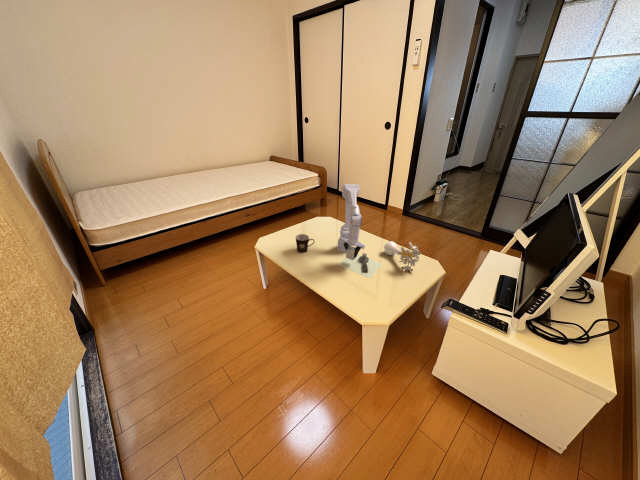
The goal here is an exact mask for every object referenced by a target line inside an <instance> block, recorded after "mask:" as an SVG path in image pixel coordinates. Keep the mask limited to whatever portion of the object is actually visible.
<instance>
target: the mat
mask: <svg viewBox="0 0 640 480" xmlns="http://www.w3.org/2000/svg"><path fill="white" fill-rule="evenodd" d="M360 256H361V255H360V254H358V255H357V257H356V258H355V259H354V260H351V259H348V258H346V256H345V257H344V258H343V259H342V260H340V262H338V263H337V266H339V267H341V268H344V269H346V270H349V271H351V272H354V273H357V274H358V275H361V276H364V277H367V278H369V279H372V277H373V276H374V275H375V274H376V272H377V271H378V270H380V267H382V265H383V263H381V262H379V261H376V260H373V259H371V258H369V261H368V263H366V264H367V267H368V273H366V272H363V269H362V263H361V262H360V261H359V257H360Z"/></svg>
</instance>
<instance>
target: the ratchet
mask: <svg viewBox="0 0 640 480" xmlns="http://www.w3.org/2000/svg"><path fill="white" fill-rule="evenodd" d="M367 255H368V254H367V253H363V252H362V255H360V257H359V261H360V262H361V263H362V269H363V272H366V273H368V267H367V264H366V263H368V261H369V259H370V258H369V257H368V256H367Z"/></svg>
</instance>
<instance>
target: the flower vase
mask: <svg viewBox="0 0 640 480" xmlns="http://www.w3.org/2000/svg"><path fill="white" fill-rule="evenodd" d="M408 246H409V249H406V250H405V248H404V247H402V246H401V247H400V248H399V247H398V244H397V243H396V242H395V241H394V240H393V241H392V240H391V241H388V242H386V243H385V244H384V246H383V250H384V253H385V254H386V255H387V256H395V254H396V255H399V256H400V260H399V261H398V262H399V263H403V265H402V266H403V268H402V269H405V270H406V271H408V270H411V268H412V267H415V266H416V262H419V261H420V257H419V256H420V255H421V251H419V247H418V246H416V245H413V243H412V242H411V241H409V242H408ZM411 250H412V251H411Z"/></svg>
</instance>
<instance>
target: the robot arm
mask: <svg viewBox="0 0 640 480" xmlns="http://www.w3.org/2000/svg"><path fill="white" fill-rule="evenodd" d="M341 188H342V189H341V191H342V192H341V194H342V195H341V196H342V198H344V199H345V213H344V218H345V219H344V224H343V225H341V226H340V233H339V234H340V235H339V237H338V240H337V249H336V250H337V251H339V252H342V253H345V254H346V250H347V248H348V247H350V246H353V247H356V248H355V255H354V257H355V258H356V257H357V255H359V252H360V250H364V249H365V248H366V244H364V243H361V242H360V241H359V237H360V231H361V230H360V229H361V227H362V225H363V216H362V214H361V212H360V207H359V205H358V204H357V198H358V195H359V193H360V189H361V188H360V185H359V183H353V184H352V183H350V184H349V183H343V184H342V187H341Z"/></svg>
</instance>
